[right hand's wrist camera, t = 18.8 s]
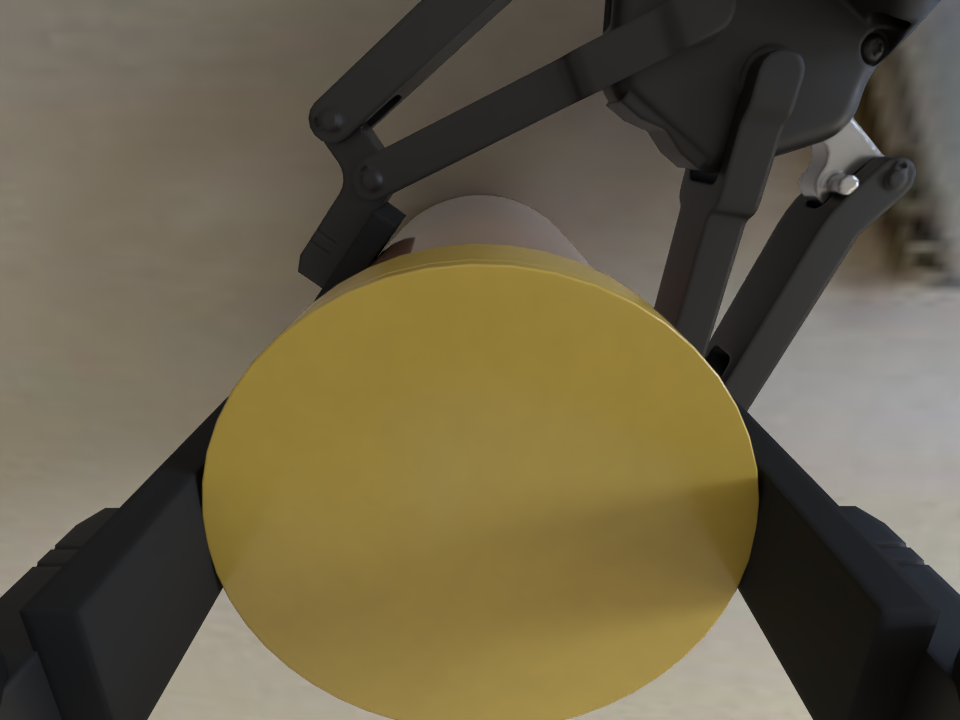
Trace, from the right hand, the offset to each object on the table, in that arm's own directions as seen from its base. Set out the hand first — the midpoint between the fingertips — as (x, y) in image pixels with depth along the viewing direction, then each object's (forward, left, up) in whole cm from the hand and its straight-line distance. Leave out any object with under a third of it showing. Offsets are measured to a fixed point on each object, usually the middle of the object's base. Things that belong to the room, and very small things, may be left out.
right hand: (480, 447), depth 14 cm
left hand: (-2, -4, -7) cm, 8 cm away
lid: (0, 0, +3) cm, 3 cm away
